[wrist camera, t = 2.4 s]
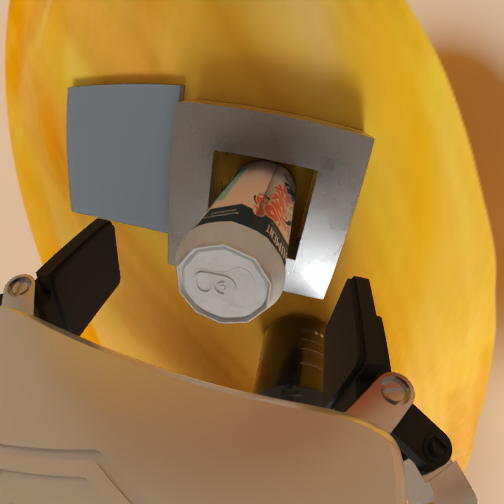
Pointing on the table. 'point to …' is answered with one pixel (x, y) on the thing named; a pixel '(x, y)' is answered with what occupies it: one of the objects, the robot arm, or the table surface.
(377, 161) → the table surface
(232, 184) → the beer can
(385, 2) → the table surface
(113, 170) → the mat
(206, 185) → the gray square frame
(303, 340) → the supplement bottle
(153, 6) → the table surface
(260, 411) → the robot arm
